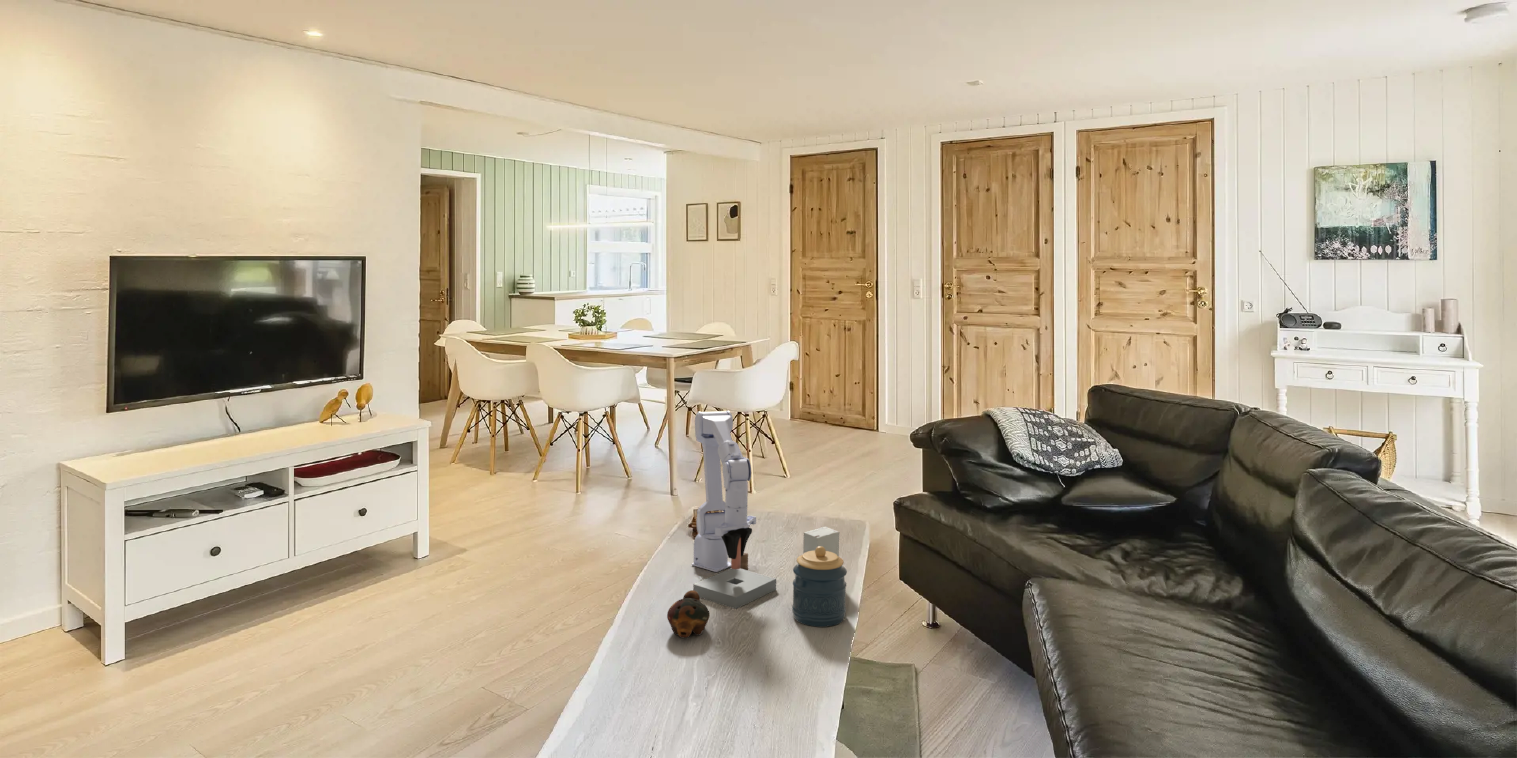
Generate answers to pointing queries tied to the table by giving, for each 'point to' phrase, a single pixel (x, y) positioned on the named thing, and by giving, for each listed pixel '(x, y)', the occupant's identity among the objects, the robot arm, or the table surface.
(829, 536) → the skincare box
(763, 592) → the hole plate
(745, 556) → the short pin
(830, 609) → the canister
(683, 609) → the decorative turtle
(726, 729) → the table surface
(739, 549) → the long pin
